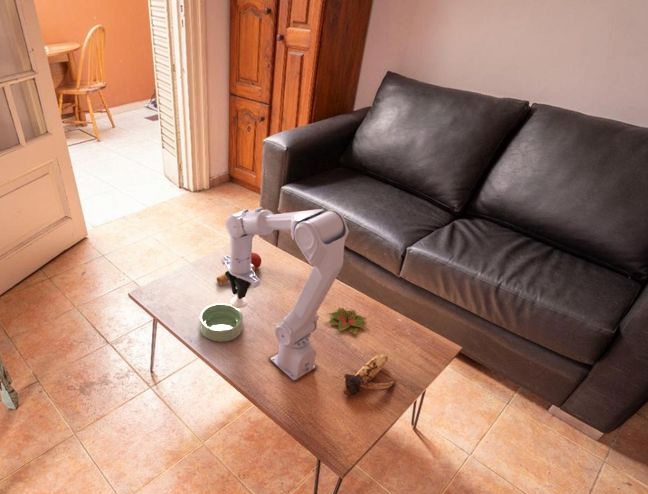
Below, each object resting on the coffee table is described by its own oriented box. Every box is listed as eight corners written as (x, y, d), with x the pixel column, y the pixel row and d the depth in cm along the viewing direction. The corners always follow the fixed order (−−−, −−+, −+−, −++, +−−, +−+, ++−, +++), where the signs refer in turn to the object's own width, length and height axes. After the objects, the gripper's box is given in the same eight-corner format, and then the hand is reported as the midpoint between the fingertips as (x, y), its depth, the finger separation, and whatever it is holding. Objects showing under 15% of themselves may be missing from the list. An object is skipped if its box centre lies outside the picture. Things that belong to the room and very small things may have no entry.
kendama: (229, 294, 140) (268, 267, 147) (225, 278, 136) (265, 252, 143) (214, 286, 145) (253, 261, 153) (210, 271, 141) (249, 246, 149)
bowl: (250, 331, 124) (251, 319, 121) (216, 348, 119) (216, 337, 116) (225, 309, 132) (225, 298, 129) (192, 325, 126) (191, 313, 123)
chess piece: (245, 309, 121) (247, 280, 114) (228, 307, 122) (229, 278, 115) (248, 299, 125) (250, 270, 118) (232, 296, 125) (232, 268, 119)
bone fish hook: (365, 413, 103) (404, 374, 112) (370, 402, 100) (409, 362, 109) (334, 390, 108) (373, 354, 117) (338, 378, 105) (378, 343, 114)
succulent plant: (372, 319, 129) (376, 307, 126) (358, 341, 122) (361, 329, 119) (335, 304, 134) (338, 293, 131) (319, 325, 127) (322, 313, 124)
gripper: (270, 261, 110) (266, 303, 119) (236, 238, 119) (234, 278, 127) (248, 271, 107) (246, 312, 115) (215, 246, 115) (215, 286, 124)
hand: (239, 295), depth 121 cm, fingers closed on chess piece
